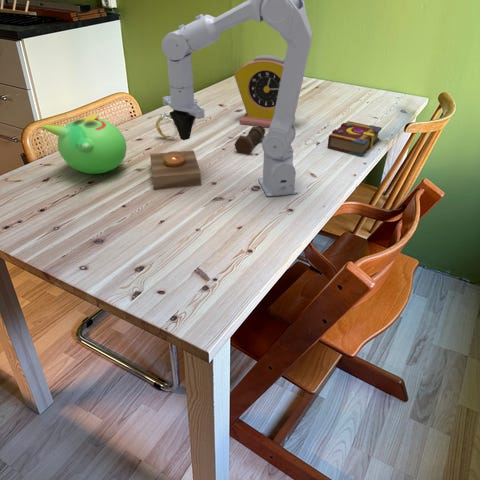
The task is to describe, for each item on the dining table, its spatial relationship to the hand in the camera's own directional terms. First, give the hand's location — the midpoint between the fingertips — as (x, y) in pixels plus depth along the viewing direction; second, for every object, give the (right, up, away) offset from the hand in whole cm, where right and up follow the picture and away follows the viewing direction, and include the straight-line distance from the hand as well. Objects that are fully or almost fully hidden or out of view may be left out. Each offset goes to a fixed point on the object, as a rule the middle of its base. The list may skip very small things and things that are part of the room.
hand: (185, 138), depth 114 cm
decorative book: (+49, +3, +22) cm, 54 cm away
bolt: (+18, +3, +21) cm, 28 cm away
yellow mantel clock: (+23, +14, +36) cm, 45 cm away
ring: (-8, +5, +24) cm, 26 cm away
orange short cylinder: (-3, -8, +4) cm, 10 cm away
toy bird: (-25, -7, +6) cm, 27 cm away
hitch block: (-3, -9, +4) cm, 10 cm away
